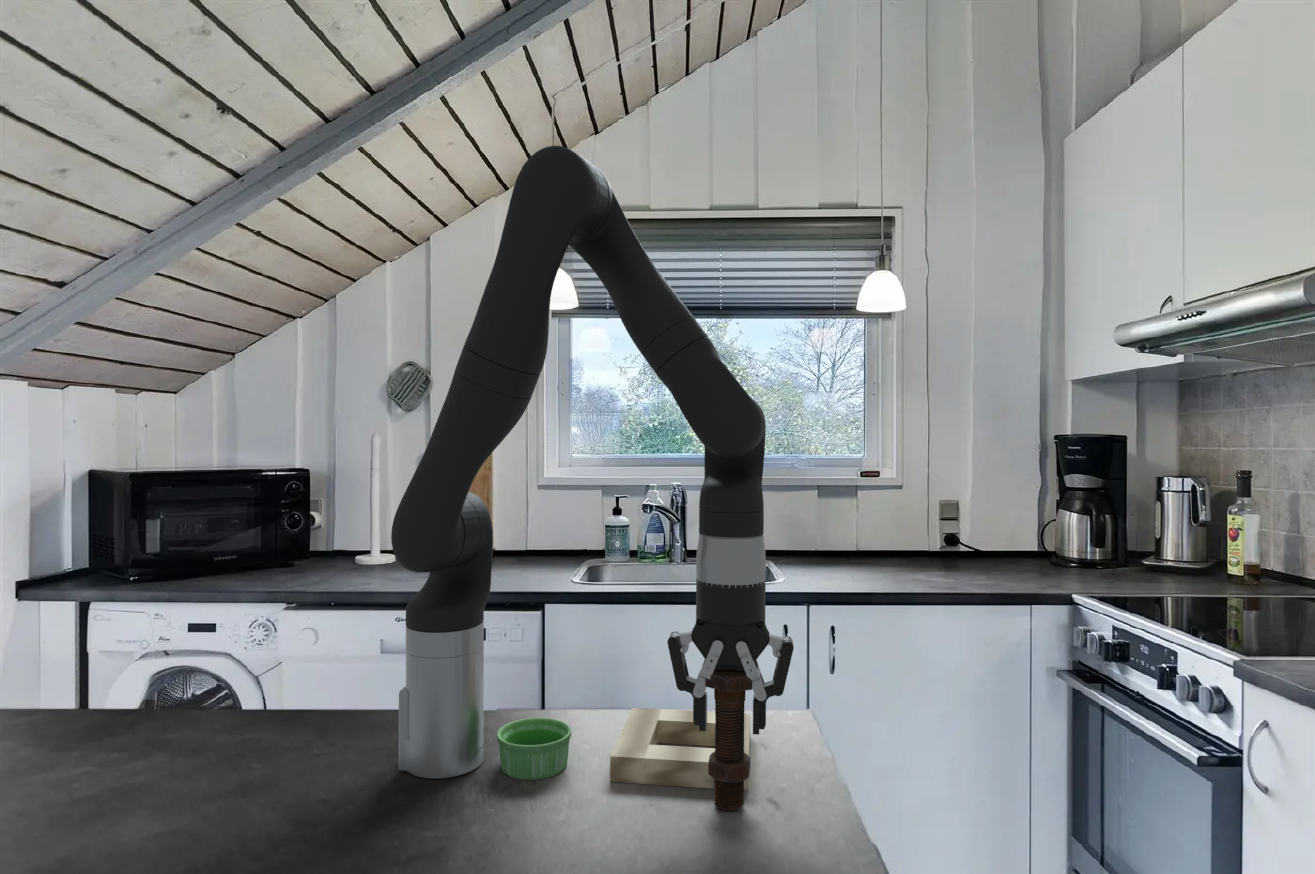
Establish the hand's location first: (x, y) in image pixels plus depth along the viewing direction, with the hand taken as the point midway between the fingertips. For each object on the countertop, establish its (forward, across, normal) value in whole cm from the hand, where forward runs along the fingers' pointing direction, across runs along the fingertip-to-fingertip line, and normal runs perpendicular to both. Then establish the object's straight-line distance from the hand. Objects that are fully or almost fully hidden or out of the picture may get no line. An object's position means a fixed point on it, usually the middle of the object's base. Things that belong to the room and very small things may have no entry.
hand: (729, 729), depth 86 cm
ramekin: (+9, -24, +7) cm, 27 cm away
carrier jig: (+8, -6, +12) cm, 16 cm away
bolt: (+9, 0, 0) cm, 9 cm away
